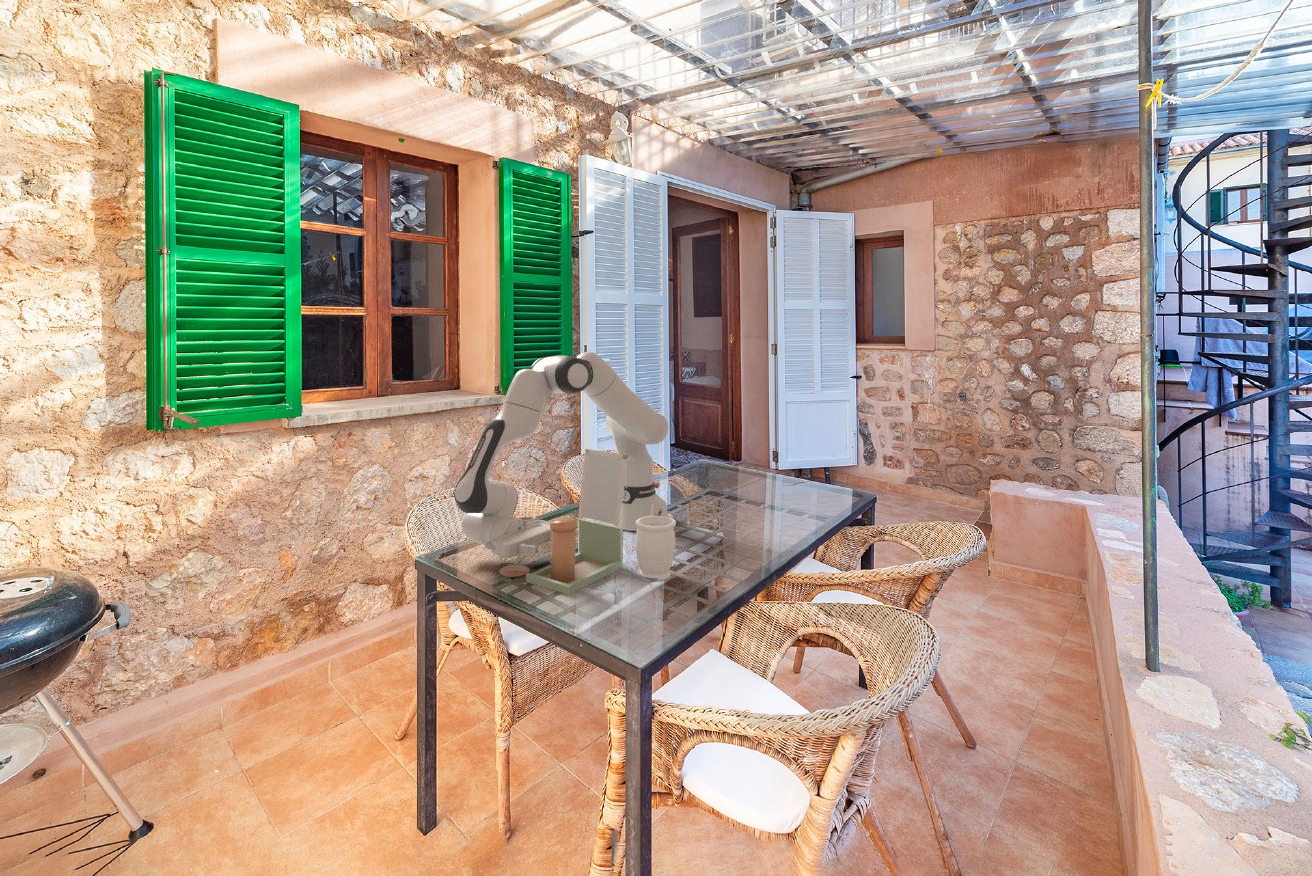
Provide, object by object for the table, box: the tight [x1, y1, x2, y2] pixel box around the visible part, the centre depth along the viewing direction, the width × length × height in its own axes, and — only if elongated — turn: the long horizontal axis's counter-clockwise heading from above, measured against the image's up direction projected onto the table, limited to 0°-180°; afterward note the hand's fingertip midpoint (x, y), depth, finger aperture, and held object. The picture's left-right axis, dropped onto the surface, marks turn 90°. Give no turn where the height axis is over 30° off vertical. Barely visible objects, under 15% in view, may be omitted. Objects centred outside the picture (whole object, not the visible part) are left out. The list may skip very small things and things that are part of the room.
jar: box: [635, 516, 677, 582], centre depth 167 cm, size 11×10×15 cm
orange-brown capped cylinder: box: [549, 516, 578, 582], centre depth 162 cm, size 7×7×15 cm
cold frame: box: [525, 518, 624, 596], centre depth 165 cm, size 22×14×12 cm, turn 147°
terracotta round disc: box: [499, 564, 530, 578], centre depth 167 cm, size 8×8×1 cm
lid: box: [577, 448, 628, 527], centre depth 171 cm, size 19×14×1 cm
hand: (549, 545), depth 164 cm, fingers open, 8 cm apart
